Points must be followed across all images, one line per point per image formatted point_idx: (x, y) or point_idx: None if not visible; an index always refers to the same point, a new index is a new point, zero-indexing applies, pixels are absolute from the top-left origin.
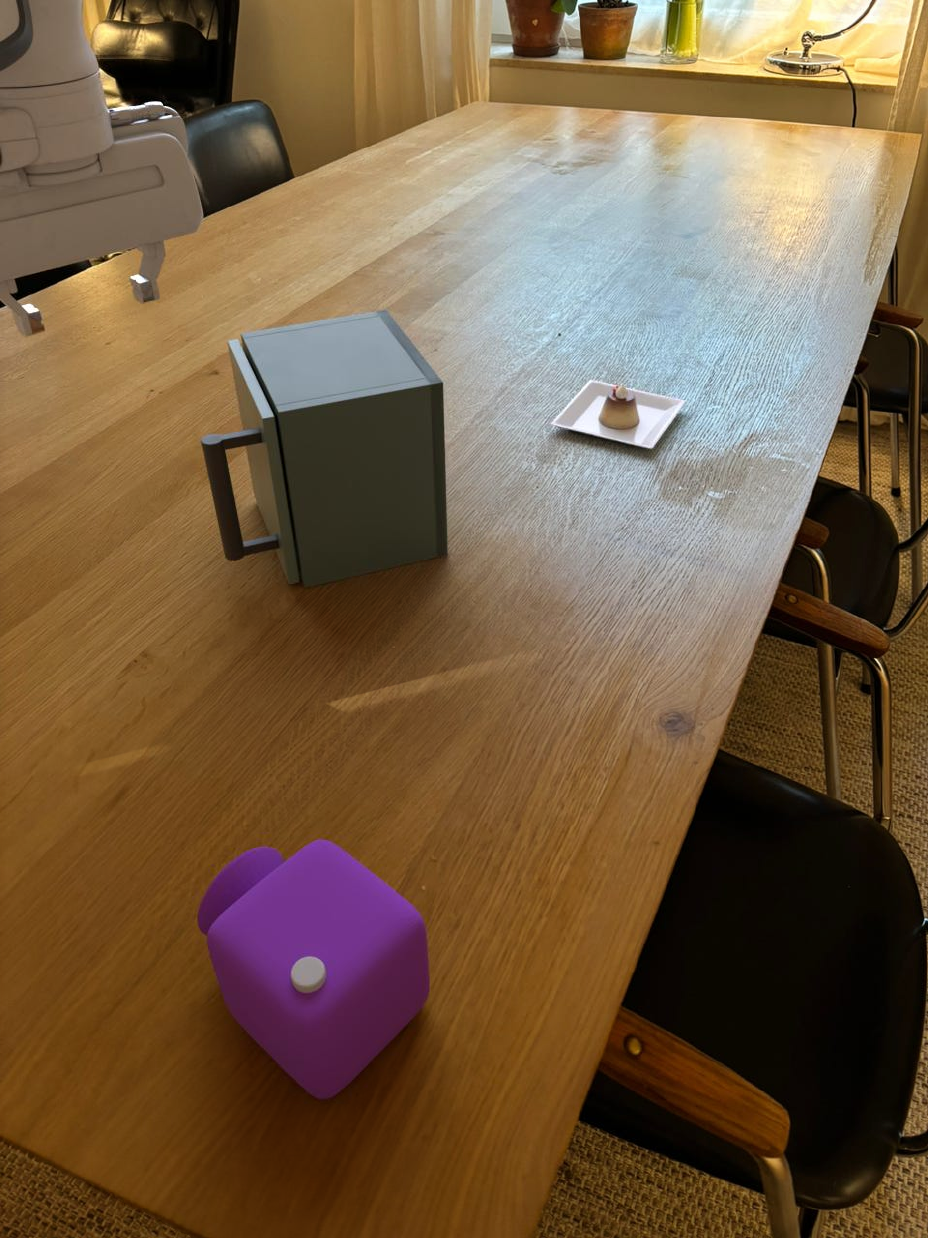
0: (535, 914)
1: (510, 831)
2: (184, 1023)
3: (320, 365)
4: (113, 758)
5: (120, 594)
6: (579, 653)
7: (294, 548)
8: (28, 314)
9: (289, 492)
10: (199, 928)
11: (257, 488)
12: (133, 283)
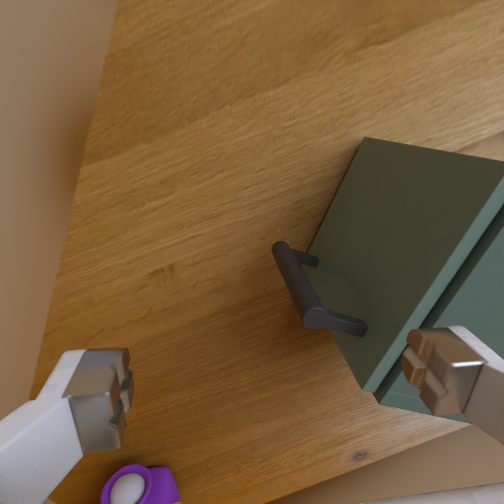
0: (236, 488)
1: (258, 462)
2: (91, 468)
3: (501, 341)
4: (113, 339)
5: (186, 186)
6: (372, 408)
7: None
8: (82, 448)
9: None
10: (101, 492)
11: (359, 181)
12: (436, 371)
